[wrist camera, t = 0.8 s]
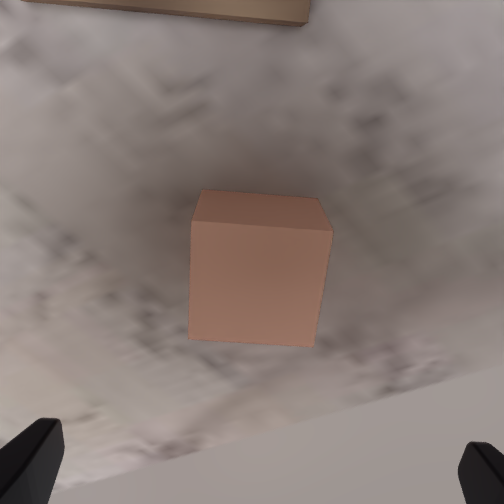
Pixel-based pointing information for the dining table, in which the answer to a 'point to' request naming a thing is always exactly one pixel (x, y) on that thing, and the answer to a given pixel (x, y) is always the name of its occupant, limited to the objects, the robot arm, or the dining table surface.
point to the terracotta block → (257, 268)
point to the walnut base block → (208, 9)
